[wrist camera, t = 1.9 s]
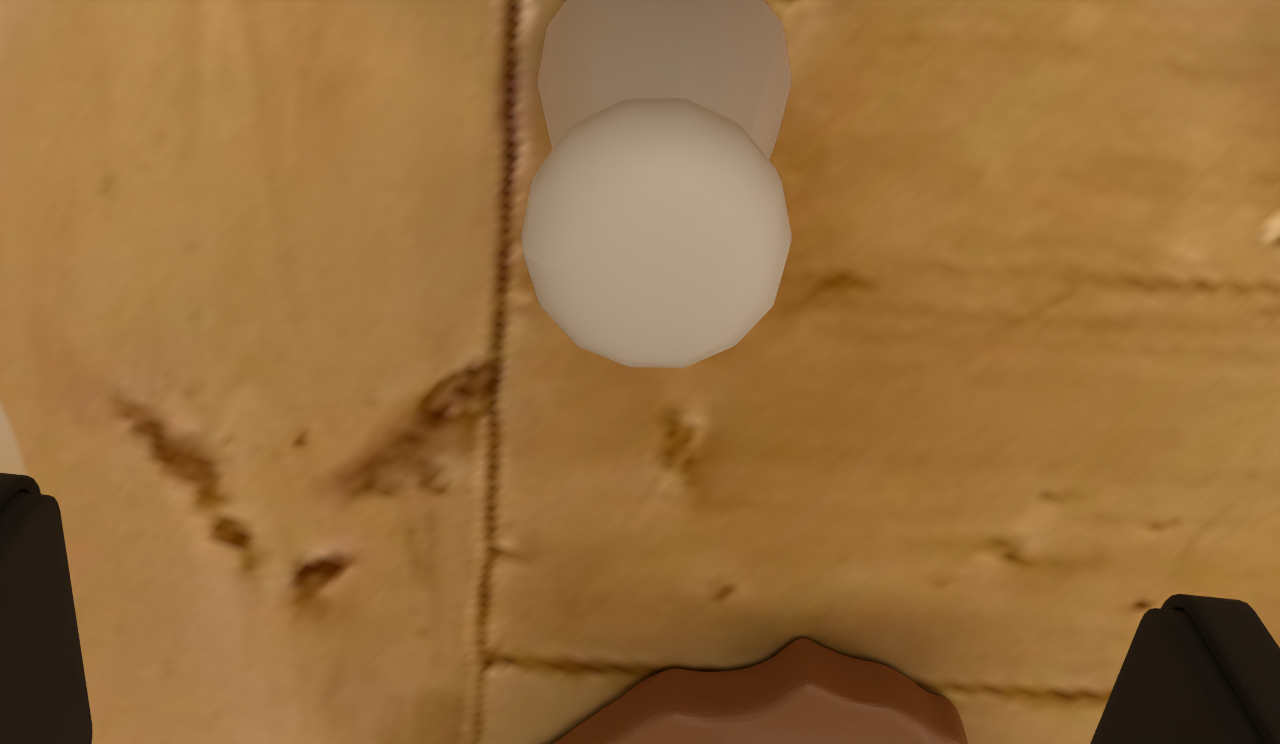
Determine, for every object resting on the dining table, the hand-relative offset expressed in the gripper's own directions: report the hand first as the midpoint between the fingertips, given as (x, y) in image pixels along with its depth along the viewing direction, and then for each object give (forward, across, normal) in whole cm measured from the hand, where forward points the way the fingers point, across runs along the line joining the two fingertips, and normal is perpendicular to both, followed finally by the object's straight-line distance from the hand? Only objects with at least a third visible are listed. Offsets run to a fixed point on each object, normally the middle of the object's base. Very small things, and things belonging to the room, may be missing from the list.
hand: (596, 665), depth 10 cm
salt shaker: (+22, -1, 0) cm, 22 cm away
